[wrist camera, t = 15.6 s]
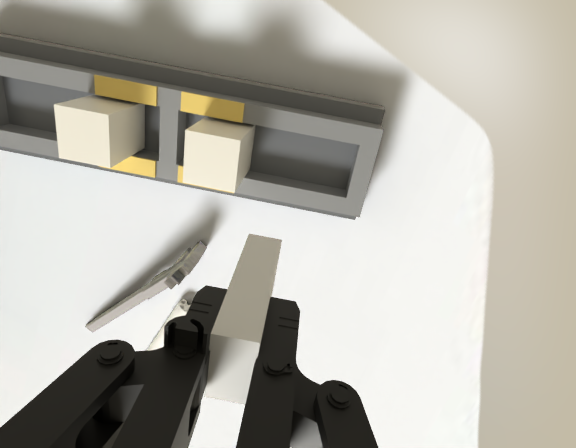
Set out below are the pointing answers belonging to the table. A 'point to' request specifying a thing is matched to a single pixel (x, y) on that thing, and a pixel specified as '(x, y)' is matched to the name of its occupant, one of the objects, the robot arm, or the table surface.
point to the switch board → (189, 110)
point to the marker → (178, 311)
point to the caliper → (153, 286)
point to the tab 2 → (217, 153)
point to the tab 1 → (99, 129)
